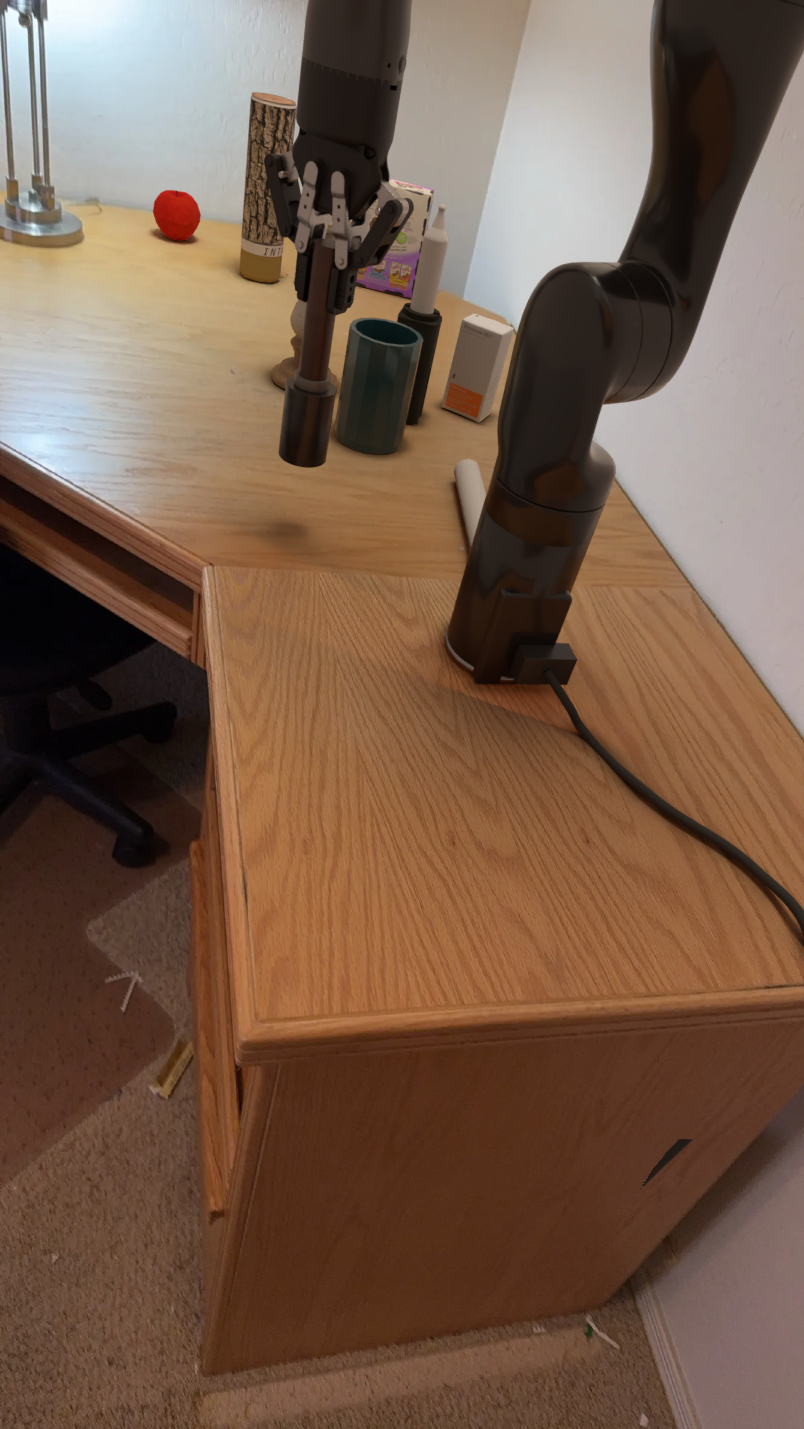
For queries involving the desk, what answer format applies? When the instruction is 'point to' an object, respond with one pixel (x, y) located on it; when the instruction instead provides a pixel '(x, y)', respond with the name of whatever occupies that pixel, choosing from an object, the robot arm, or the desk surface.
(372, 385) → the teal pencil cup
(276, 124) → the paper tube
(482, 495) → the tube
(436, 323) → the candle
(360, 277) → the candy box
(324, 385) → the brush
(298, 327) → the candle holder
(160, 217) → the apple
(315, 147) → the robot arm
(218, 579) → the desk surface
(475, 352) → the cosmetic box
